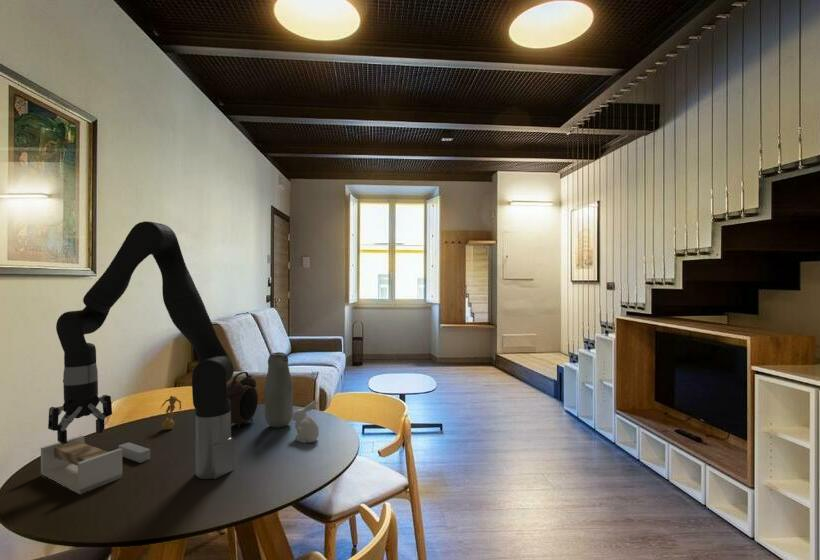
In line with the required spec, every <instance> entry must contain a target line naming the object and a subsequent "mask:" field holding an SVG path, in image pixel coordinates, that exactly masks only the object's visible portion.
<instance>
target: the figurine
mask: <svg viewBox="0 0 820 560" xmlns="http://www.w3.org/2000/svg"><path fill="white" fill-rule="evenodd" d="M167 402H169V405H168V406H167V408H166V410H165V413H166V414H167V415H166V418H165V419H164V420H163V421H162V423H161V428H162V429H163V430H165V431H169V430H171V429H172V428H174V426H175V421H174V420H173V419H172V418H173V415H174V410H175V408H176V406H175V404H176V402H178V404H179V407H178V409H179V410H180V411H181V410H182V401H181V400H180V399H178V397H177V396H174V395H170V397H169V398H168V399H166V400H165V401H164V402H163V403H162V405H161V406H160V410H161V409H162V407H164V405H165V404H166V403H167ZM169 416H170V417H169Z"/></svg>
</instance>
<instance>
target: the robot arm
mask: <svg viewBox="0 0 820 560" xmlns="http://www.w3.org/2000/svg"><path fill="white" fill-rule="evenodd" d="M150 255H151V256H152V257H153V258H154V260H155V262H156V264H157V266H158V269H159V271H160V274H161V278H162V279H161V281H162V282H161V283H162V285H161V287H162V289H161V290H162V300H163V303H164V306H165V308H166V311H167V313H168V315H169V318H170V319H171V321H172V323H173V324H174V326H175V328H176V329H178V331H179V332H180V333H181V335H182V336H184V337H185V338H186V339H187V340H188V342H189V343H190V344H191V346H192V347H193V350H194V352H195V354H196V356H197V358H198V363H197V364H196V365H195V367H194V369H193V371H192V374H191V375H192V376H191V391H192V393H191V394H192V405H193V407H194V409H195V410H194V411H195V476H196V477H197V478H199V479H203V480H209V479H213V480H216V479H218V478H221V477H222V476H225V475H226V474H228V473H230V472H232V471H234V438H233V437H232V424H231V401H230V400H229V399H228V398H227V386H228V382H230V380H231V379H232V377H233V374H234V364H233V361H232V359H231V357H230V355H228V353H227V351H226V349H225V348H224V346H223V344H222V342H221V341H220V339H219V337H218V335H217V332H216V330H215V328H214V325H213V323H212V320H211V318H210V315H209V313H208V311H207V309H206V306H205V303H204V301H203V300H202V297H201V294H200V293H199V290H198V288H197V287H196V285H195V282H194V279H193V277H192V276H191V273H190V271H189V269H188V267H187V265H186V262H185V259H184V257H183V256H184V255H183V252H182V250H181V247H180V243H179V240H178V237H177V235H176V233H175V231H174V230H173V229H172V228H171V227H170V226H168V225H166V224H163V223H161V222H160V223H158V222H154V221H147V220H146V221H139V222H138V223H136V224H135V225H134V226H133V227H132V228H131V230H130V231H129V232H128V234H127V235H126V237H125V239H124V241H123V243H122V245H121V246H120V248H119V249H118V251H117V253H116V254H115V256H114V257H113V259H112V261H111V262H110V264H109V265H108V266H107V268H106V269H105V271H104V272H103V273H102V275H101V276H100V277H99V278H98V279H97V281H96V282H95V283H93V284H92V286H91V287H90V289H89V290H88V291H87V292H86V294H85V295H84V296H83V298H82V302H83V304H84V305H85V307H84V308H83V309H80V310H79V309H78V310H71V311H65V312H64V313H62V314H61V315H60V316H59V317H58V318H57V321H56V325H55V327H56V328H55V329H56V333H57V336H58V340H59V342H60V346H61V348H62V350H63V353H64V354H63V365H64V368H63V376H62V377H63V380H62V384H63V404H62V405H61V406H57V407H54V406H50V407H49V408H48V420H47V421H48V423H47V425H48V426H47V429H49V430H51V431H53V432H55V431H56V434H57V443H58V442H60V443H61V444H66V443H67V440H68V430H67V428H68V427H69V425H70V424H71V423H73V422H74V420H75V419H80V418H83V417H88V416H90V415H93V416H94V418H96V419H95V432H96V433H97V434H102V433H103V432H104V430H105V419H106V418H107V417H109V416H112V414H113V407H112V406H113V405H112V397H111V395H108V394H103V395H102V396H98V395H99V380H98V379H99V378H98V375H99V374H98V371H99V370H98V366H97V348H96V345H95V344H94V343H90V342H87V340H86V337H85V335H89V334H93V333H95V332H96V331H98V330H99V329H100V328H101V327H102V326H103V325H104V323H105V321H106V319H107V317H108V315H109V313H110V310H111V308H113V307H114V305H115V304H116V303H117V302H118V300H120V298H121V297H122V296H123V294H124V293H125V292H126V291H127V289H128V287H129V284H130V281H131V279H132V275H133V274H134V272H135V270H136V268H137V267H138V266H139V265H140V264H141V263H142V262H143V261H144V260H146V258H148V257H149V256H150ZM99 403H101V404H102V411H100V410H99V409H98V405H99ZM62 412H64V415H63V416H62V417H61V419H60V422H59V416H60V415H61V413H62Z"/></svg>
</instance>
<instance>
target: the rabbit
mask: <svg viewBox="0 0 820 560" xmlns="http://www.w3.org/2000/svg"><path fill="white" fill-rule="evenodd" d="M317 404H318V401H317V400H313V401H311V403H309V404H308V405H305V407H304V408H299V409H296V410H295V411H294V412H293V414H292V419H291V420H292V421H295V423H294V425H295V427H294V428H295V430H296V432H297V435H295V439H296V441H297V442H300V443H302V444H306V443H307V444H308V443H311V444H312V443H314V442H316V441H317V439H318V437H319V432H320V431H319V429H320V427H319V425H318V423H317V422H316V420H315V419H313V418H312V417H310V416H308V415H307V412H311V411H312V410H314V409H315V408H316V406H317Z"/></svg>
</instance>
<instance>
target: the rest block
mask: <svg viewBox="0 0 820 560" xmlns="http://www.w3.org/2000/svg"><path fill="white" fill-rule="evenodd" d="M119 448H121V449H122V458H125V459H128V460H131V461H134V462H137V463H140V464H141V463H144V462H147V461H149V460H151V449H150V448H147V447H145V446H141V445H139V444H135V443H132V442H126V443H122V444H119V445H118V448H117V449H119Z"/></svg>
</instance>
